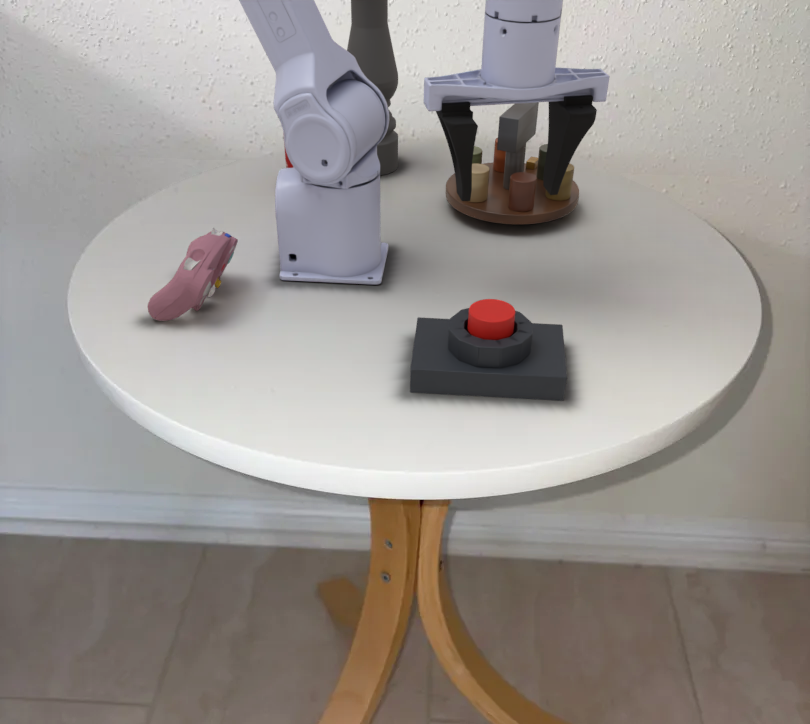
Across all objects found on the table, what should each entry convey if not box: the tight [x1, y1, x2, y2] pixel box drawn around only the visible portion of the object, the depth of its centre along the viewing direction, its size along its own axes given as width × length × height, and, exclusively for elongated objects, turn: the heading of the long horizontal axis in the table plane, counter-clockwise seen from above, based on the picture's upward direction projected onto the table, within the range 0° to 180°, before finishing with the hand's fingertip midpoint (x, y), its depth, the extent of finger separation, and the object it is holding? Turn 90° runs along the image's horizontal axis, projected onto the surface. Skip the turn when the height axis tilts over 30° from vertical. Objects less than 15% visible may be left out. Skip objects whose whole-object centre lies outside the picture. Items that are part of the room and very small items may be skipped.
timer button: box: [468, 298, 516, 340], centre depth 71 cm, size 4×4×2 cm
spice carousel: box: [445, 102, 580, 225], centre depth 93 cm, size 14×14×9 cm
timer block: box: [409, 307, 568, 402], centre depth 72 cm, size 12×8×4 cm, turn 85°
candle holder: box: [346, 0, 399, 176], centre depth 97 cm, size 6×6×25 cm
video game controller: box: [147, 227, 239, 322], centre depth 80 cm, size 10×5×7 cm, turn 168°
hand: (507, 193), depth 77 cm, fingers open, 7 cm apart
